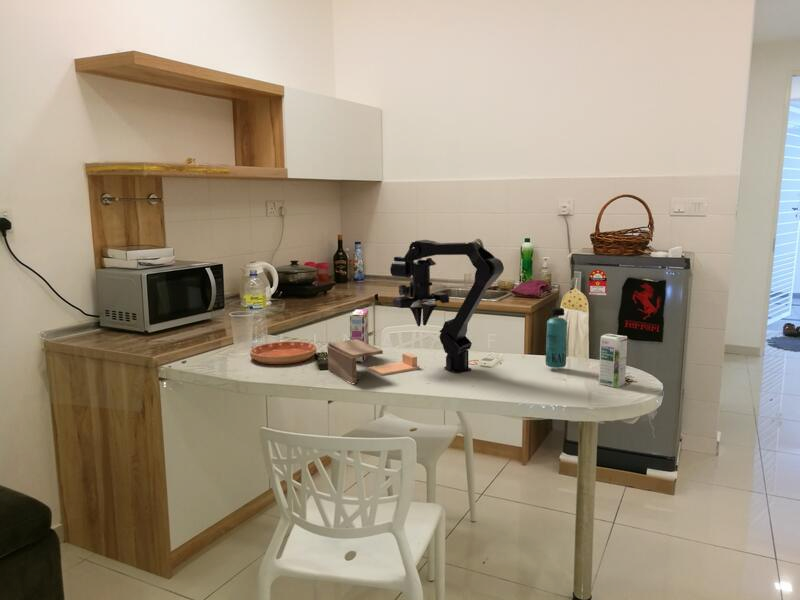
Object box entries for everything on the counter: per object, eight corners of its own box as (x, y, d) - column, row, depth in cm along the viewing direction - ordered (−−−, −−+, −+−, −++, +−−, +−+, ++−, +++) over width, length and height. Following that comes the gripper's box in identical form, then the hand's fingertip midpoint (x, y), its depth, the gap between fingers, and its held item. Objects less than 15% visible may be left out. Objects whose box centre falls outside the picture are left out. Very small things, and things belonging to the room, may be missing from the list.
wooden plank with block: (405, 364, 210) (405, 352, 210) (419, 370, 203) (419, 357, 202) (368, 370, 203) (368, 358, 203) (381, 377, 196) (381, 364, 195)
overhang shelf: (357, 365, 207) (356, 339, 206) (383, 378, 192) (382, 350, 191) (328, 370, 202) (327, 343, 201) (352, 384, 187) (351, 355, 185)
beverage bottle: (548, 365, 203) (550, 305, 200) (569, 368, 200) (570, 307, 197) (542, 370, 198) (543, 308, 195) (563, 373, 195) (564, 310, 191)
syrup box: (597, 384, 183) (599, 335, 181) (607, 379, 187) (609, 332, 185) (616, 388, 179) (618, 338, 177) (625, 383, 183) (628, 335, 181)
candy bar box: (365, 362, 211) (363, 315, 208) (350, 362, 212) (349, 315, 209) (369, 354, 222) (368, 308, 219) (355, 354, 222) (354, 308, 220)
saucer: (237, 359, 219) (236, 349, 218) (289, 347, 236) (289, 337, 235) (277, 371, 204) (276, 360, 203) (330, 356, 220) (329, 346, 220)
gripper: (431, 274, 215) (432, 318, 217) (384, 278, 206) (385, 324, 208) (450, 277, 205) (450, 324, 208) (401, 282, 196) (401, 330, 199)
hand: (421, 325), depth 206 cm, fingers closed
